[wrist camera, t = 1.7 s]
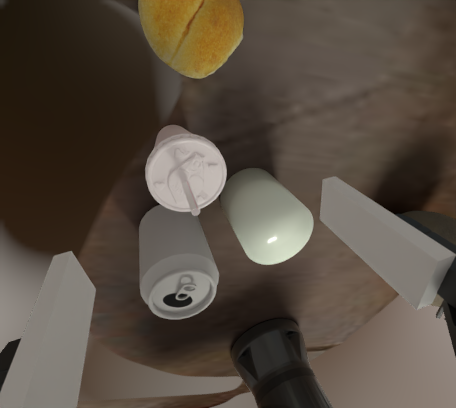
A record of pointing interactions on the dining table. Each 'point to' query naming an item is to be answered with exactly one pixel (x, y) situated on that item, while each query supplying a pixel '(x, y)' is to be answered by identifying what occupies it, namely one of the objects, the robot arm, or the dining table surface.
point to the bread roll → (192, 32)
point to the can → (175, 264)
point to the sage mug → (265, 216)
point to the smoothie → (184, 170)
